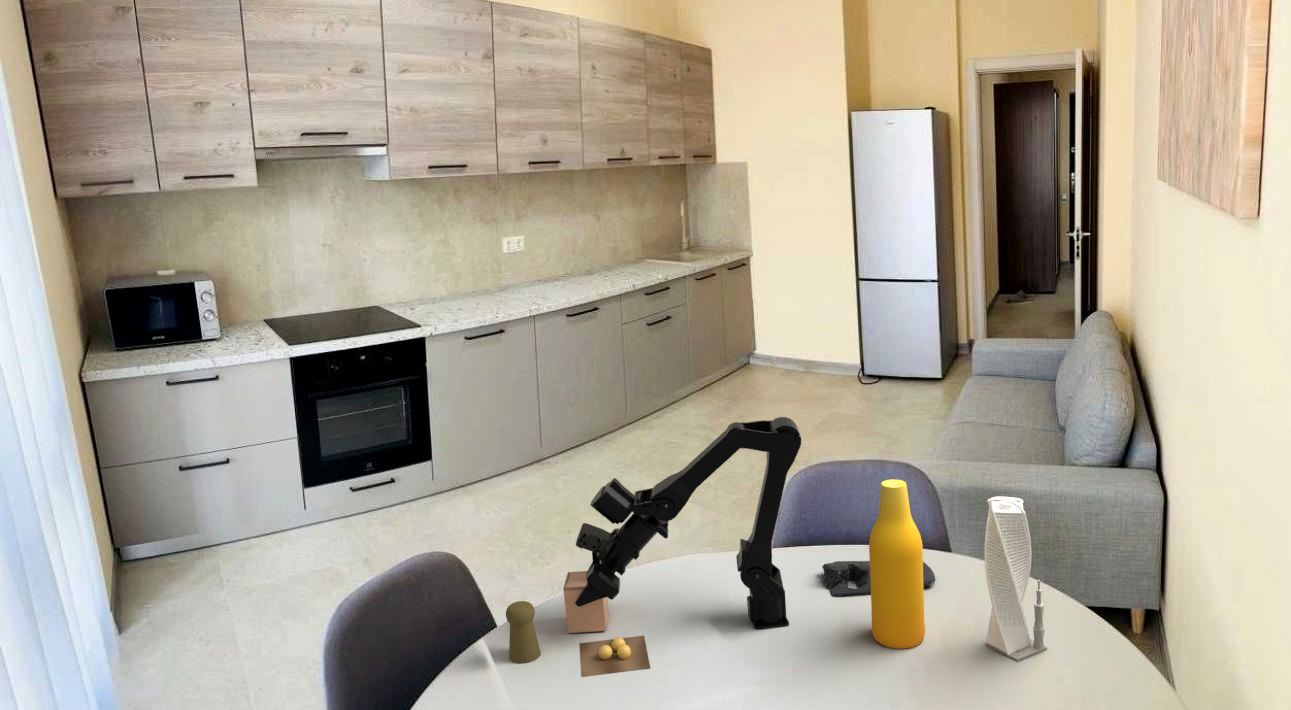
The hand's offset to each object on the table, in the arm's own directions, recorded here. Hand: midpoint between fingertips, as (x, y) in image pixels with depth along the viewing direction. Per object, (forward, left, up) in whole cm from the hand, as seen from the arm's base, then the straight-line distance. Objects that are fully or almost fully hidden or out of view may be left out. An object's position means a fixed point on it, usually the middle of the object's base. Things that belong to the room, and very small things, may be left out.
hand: (579, 596), depth 183 cm
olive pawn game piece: (+11, +9, -7) cm, 16 cm away
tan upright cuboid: (-1, 0, -6) cm, 6 cm away
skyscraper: (-73, +25, -7) cm, 78 cm away
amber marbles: (-5, +13, -6) cm, 15 cm away
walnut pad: (-5, +13, -7) cm, 16 cm away
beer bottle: (-56, +17, -7) cm, 59 cm away
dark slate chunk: (-61, -6, -8) cm, 62 cm away
